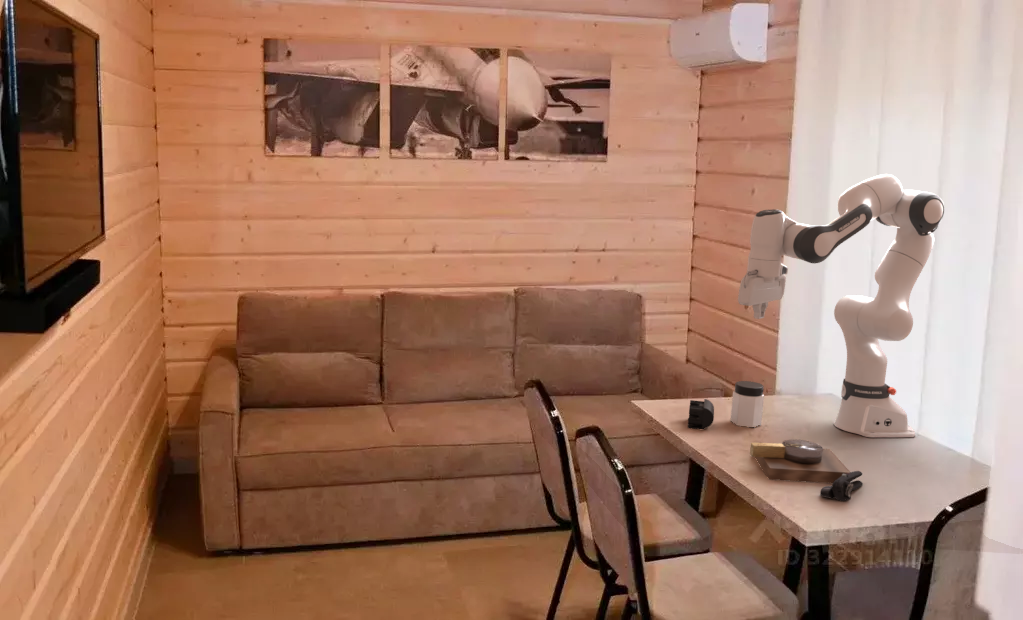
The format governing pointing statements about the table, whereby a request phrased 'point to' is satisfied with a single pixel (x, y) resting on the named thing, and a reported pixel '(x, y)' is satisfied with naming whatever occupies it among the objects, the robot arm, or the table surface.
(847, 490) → the can opener
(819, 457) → the small frying pan
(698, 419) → the end cap
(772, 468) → the base
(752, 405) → the jar
